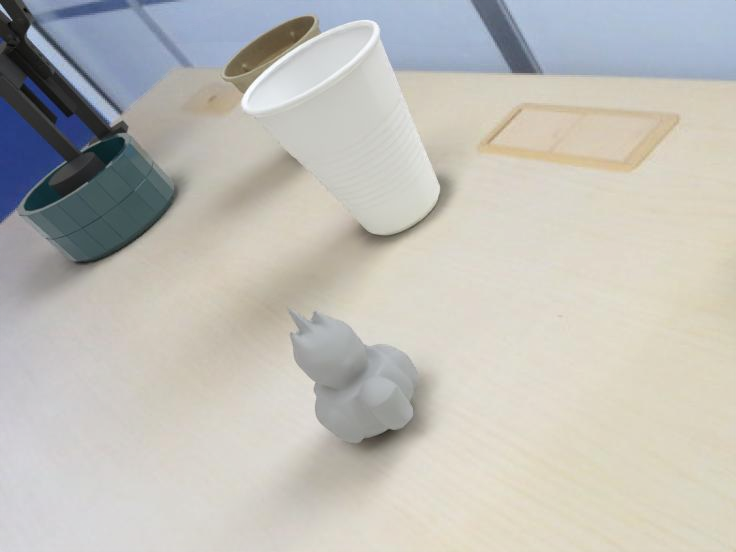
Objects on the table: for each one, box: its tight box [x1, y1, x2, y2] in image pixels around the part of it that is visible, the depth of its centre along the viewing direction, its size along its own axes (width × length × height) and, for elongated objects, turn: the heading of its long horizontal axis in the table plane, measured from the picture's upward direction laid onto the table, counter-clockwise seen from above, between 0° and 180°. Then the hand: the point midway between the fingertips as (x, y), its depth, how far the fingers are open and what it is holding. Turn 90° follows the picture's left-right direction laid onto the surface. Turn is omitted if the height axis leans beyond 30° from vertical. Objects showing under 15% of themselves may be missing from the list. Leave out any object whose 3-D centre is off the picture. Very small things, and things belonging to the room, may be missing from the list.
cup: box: [240, 19, 441, 236], centre depth 50 cm, size 10×10×11 cm
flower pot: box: [220, 13, 322, 95], centre depth 65 cm, size 9×9×9 cm
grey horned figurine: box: [286, 305, 420, 444], centre depth 37 cm, size 5×7×8 cm
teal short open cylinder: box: [16, 132, 175, 263], centre depth 73 cm, size 12×12×6 cm
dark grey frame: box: [0, 39, 129, 198], centre depth 73 cm, size 20×5×12 cm, turn 24°
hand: (62, 117), depth 75 cm, fingers closed on dark grey frame, 2 cm apart
